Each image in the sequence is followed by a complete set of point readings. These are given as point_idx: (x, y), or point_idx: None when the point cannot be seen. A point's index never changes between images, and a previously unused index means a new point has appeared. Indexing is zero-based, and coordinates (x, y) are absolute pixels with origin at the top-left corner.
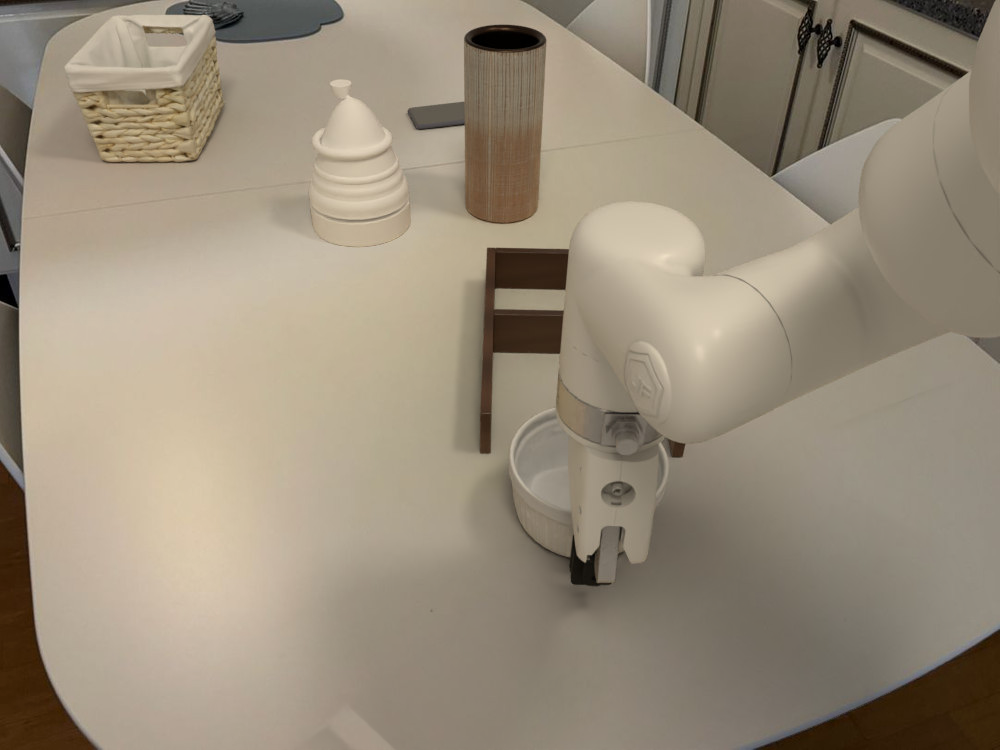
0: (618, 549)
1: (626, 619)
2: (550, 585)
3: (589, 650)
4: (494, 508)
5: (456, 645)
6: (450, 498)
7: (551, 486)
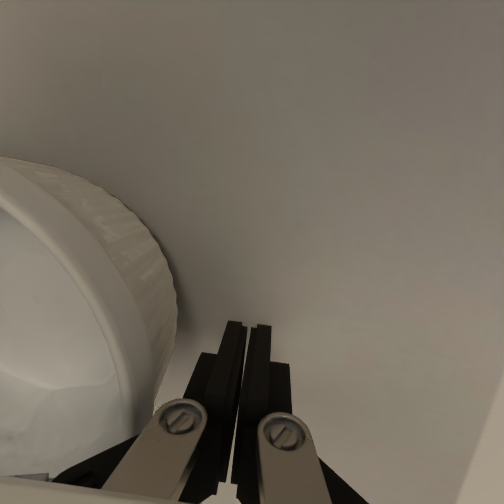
0: (325, 485)
1: (299, 266)
2: None
3: (349, 337)
4: None
5: None
6: None
7: (10, 343)
